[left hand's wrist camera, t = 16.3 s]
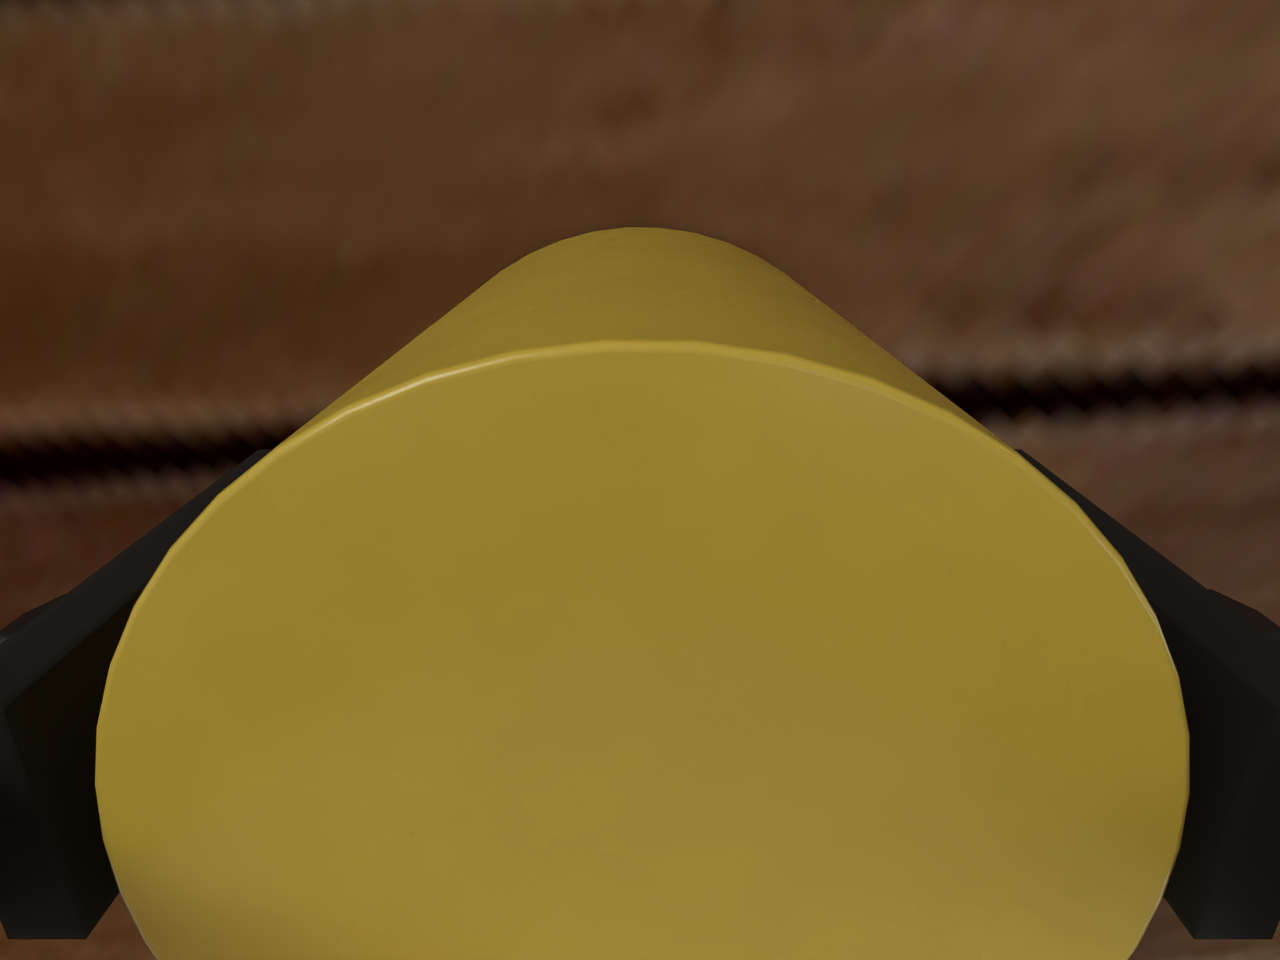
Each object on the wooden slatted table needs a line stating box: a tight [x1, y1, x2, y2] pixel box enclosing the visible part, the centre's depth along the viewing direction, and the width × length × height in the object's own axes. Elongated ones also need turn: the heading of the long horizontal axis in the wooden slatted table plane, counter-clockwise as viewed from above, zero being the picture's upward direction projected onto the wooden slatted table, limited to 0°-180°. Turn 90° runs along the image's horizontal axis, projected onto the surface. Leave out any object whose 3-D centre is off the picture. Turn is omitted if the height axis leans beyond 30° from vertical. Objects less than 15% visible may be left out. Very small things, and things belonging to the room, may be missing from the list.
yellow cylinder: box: [95, 227, 1190, 960], centre depth 11 cm, size 9×9×10 cm
